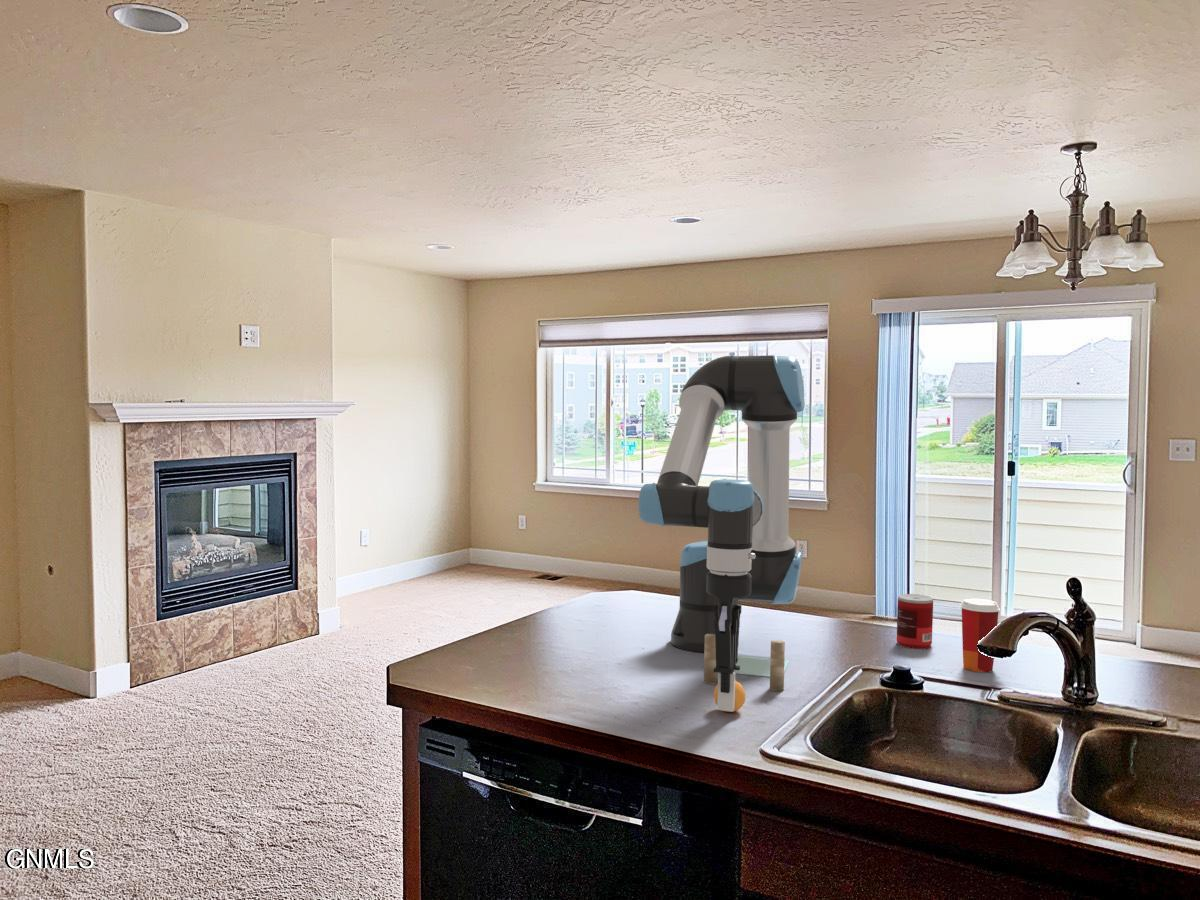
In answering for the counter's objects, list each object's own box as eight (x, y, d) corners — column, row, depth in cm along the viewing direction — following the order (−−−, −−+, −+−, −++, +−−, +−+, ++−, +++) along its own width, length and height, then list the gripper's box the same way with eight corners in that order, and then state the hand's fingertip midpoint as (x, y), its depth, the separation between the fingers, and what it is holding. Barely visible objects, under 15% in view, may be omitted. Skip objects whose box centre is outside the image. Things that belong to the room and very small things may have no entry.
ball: (710, 713, 152) (711, 681, 152) (716, 706, 157) (717, 674, 157) (742, 717, 150) (743, 684, 150) (747, 709, 155) (748, 678, 155)
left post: (702, 682, 170) (703, 636, 169) (705, 679, 172) (706, 633, 172) (715, 684, 169) (717, 637, 169) (718, 680, 171) (719, 634, 171)
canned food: (931, 642, 205) (932, 595, 205) (932, 650, 198) (933, 601, 197) (896, 639, 208) (897, 592, 207) (896, 647, 200) (897, 599, 200)
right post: (768, 690, 166) (770, 642, 166) (770, 686, 168) (771, 639, 168) (782, 691, 165) (784, 644, 165) (784, 687, 168) (785, 640, 167)
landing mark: (716, 671, 178) (716, 670, 178) (727, 655, 190) (727, 654, 190) (782, 678, 174) (782, 677, 174) (789, 661, 186) (789, 660, 186)
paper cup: (998, 666, 186) (1000, 600, 185) (997, 675, 179) (1000, 607, 178) (958, 661, 189) (960, 596, 188) (956, 670, 182) (958, 603, 181)
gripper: (745, 579, 142) (742, 724, 143) (756, 566, 154) (753, 700, 155) (699, 576, 144) (696, 719, 145) (714, 563, 157) (711, 695, 158)
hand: (725, 709), depth 150 cm, fingers closed
